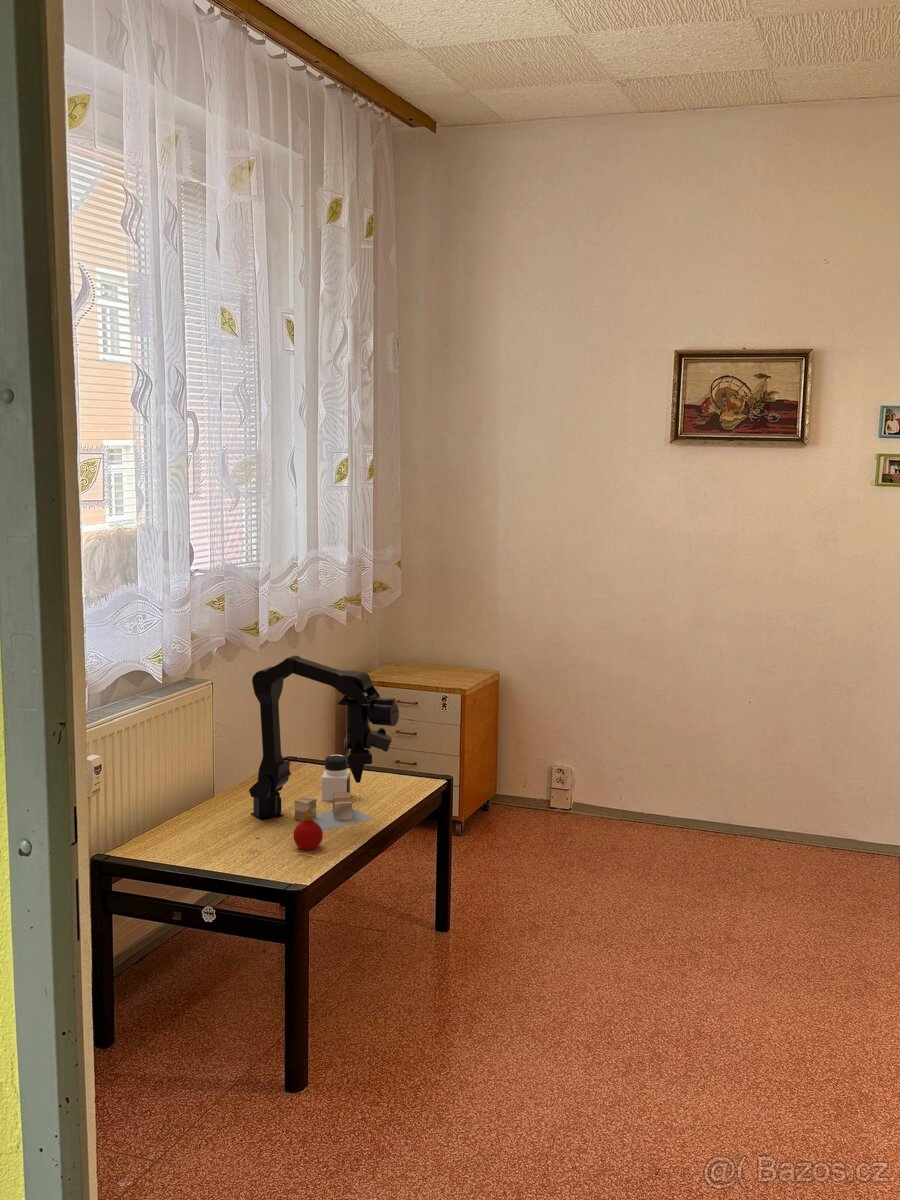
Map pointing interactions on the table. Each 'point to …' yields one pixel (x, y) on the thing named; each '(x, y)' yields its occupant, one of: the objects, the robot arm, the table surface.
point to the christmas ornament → (308, 833)
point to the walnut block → (342, 806)
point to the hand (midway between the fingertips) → (358, 782)
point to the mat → (329, 822)
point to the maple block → (305, 807)
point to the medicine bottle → (335, 777)
